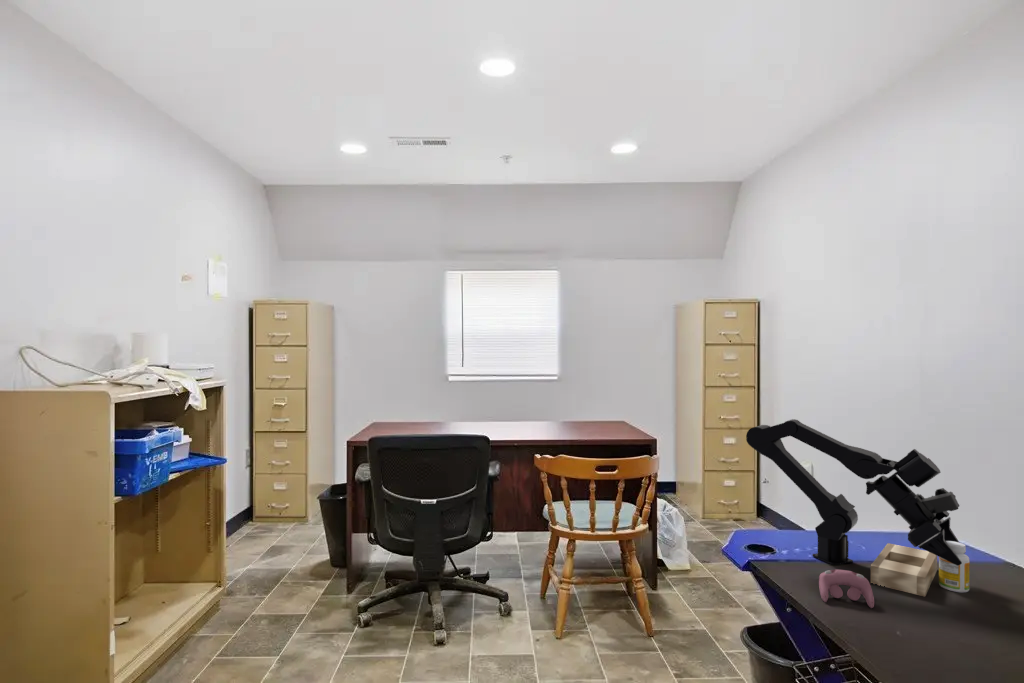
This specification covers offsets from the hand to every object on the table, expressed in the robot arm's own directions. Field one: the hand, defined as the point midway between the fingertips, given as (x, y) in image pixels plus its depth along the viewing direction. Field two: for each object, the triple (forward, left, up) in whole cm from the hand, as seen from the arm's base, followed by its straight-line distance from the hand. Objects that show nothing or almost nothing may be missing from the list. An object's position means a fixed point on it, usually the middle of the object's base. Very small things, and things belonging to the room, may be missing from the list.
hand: (962, 559), depth 127 cm
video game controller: (-29, +3, -7) cm, 30 cm away
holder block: (-5, +9, -7) cm, 12 cm away
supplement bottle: (-1, +1, -7) cm, 7 cm away
